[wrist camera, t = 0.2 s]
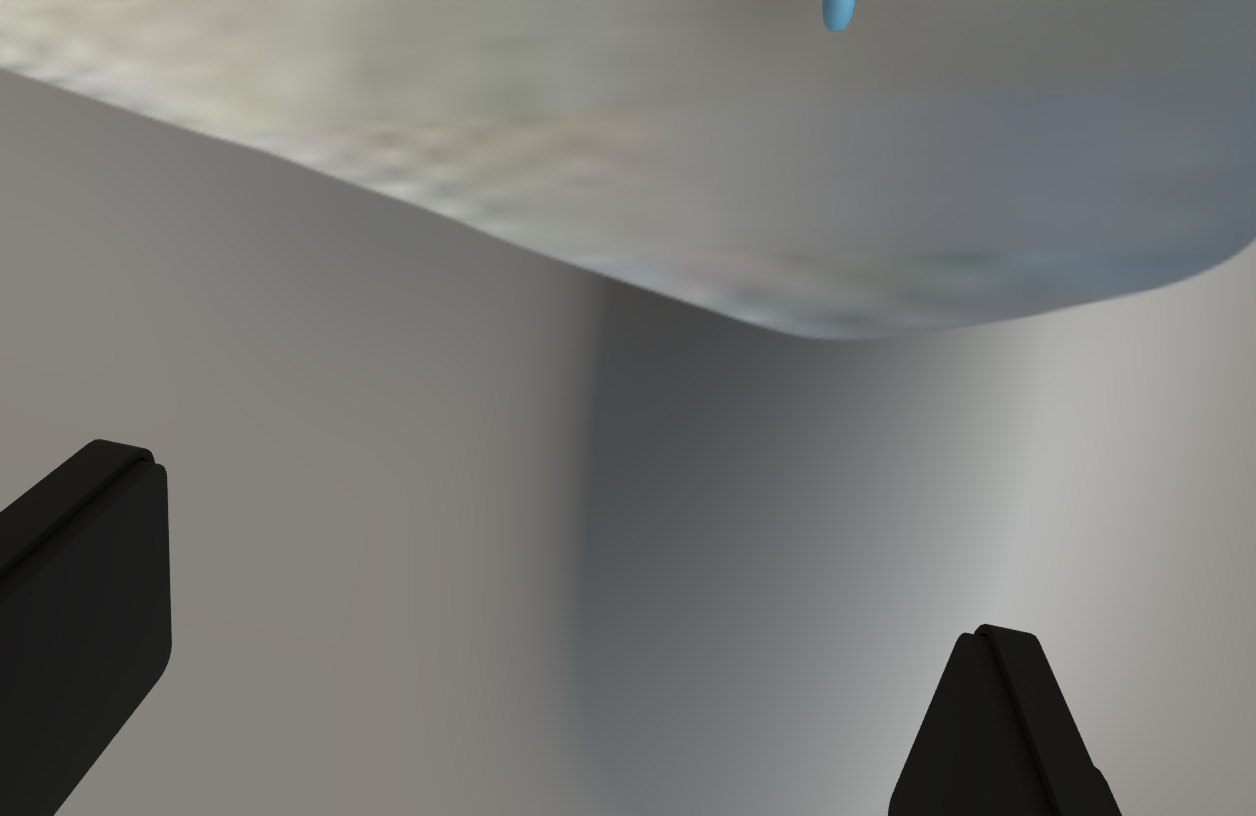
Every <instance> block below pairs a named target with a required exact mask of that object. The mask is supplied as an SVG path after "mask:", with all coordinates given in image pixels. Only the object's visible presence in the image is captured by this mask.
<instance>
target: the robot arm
mask: <svg viewBox="0 0 1256 816" xmlns="http://www.w3.org/2000/svg"><path fill="white" fill-rule="evenodd" d="M168 527H169V526H168V490H167V473H166V470H165V468H164V467H163V466H162V465H160V464H156V463H155V461H154V457H153V455H152V453H151V452H150V451H149V450H148V449H145V448H140V447H135V446H131V445H126V444H120V443H116V442H111V441H107V440H102V439H98V440H94V441H92V442H90V443H88V444H87V445H86V446H84V447H83V448H82V449H81V450H79V451H78V452H77V453H75V454H74V455H73V456H72V457H70V458H69V459H68V460H67V461H65V462H64V463H63V464H61V465H60V466H59V467H58V468H56V469H55V470H54V471H52V472H51V473H50V474H49V475H47V476H46V477H45V478H44V479H42V480H41V481H40V482H39V483H37V484H36V485H35V486H33V487H32V488H31V489H30V490H28V491H27V492H26V493H24V494H23V495H22V496H21V497H19V498H18V499H17V500H16V501H14V502H13V503H12V504H10V505H9V506H8V507H7V508H5V509H4V510H3V511H1V512H0V816H54V814H55V813H56V812H57V810H58V809H59V808H60V807H61V805H62V804H63V803H64V801H65V800H66V798H67V797H68V796H69V795H70V794H71V792H72V791H73V790H74V788H75V787H76V786H77V785H78V783H79V782H80V781H81V779H82V778H83V777H84V775H85V774H86V773H87V772H88V770H89V769H90V768H91V766H92V765H93V764H94V763H95V761H96V760H97V759H98V757H99V756H100V755H101V754H102V752H103V751H104V750H105V748H106V747H107V746H108V744H109V743H110V742H111V740H112V739H113V738H114V736H115V735H116V734H117V733H118V732H119V730H120V729H121V728H122V726H123V725H124V724H125V723H126V721H127V720H128V719H129V717H130V716H131V715H132V714H133V712H134V711H135V710H136V708H137V707H138V706H139V704H140V703H141V702H142V701H143V699H144V698H145V697H146V695H147V694H148V693H149V692H150V690H151V689H152V688H153V686H154V685H155V684H156V683H157V681H158V680H159V679H160V677H161V676H162V674H163V672H164V670H165V668H166V666H167V664H168V661H169V658H170V653H171V647H172V646H171V645H172V634H171V599H170V563H169V529H168ZM888 816H1122V815H1121V812H1120V810H1119V808H1118V806H1117V804H1116V801H1115V799H1114V797H1113V794H1112V793H1111V790H1110V788H1109V785H1108V783H1107V781H1106V780H1105V778H1104V777H1103V775H1102V773H1101V772H1100V770H1098V769H1097V768H1096V767H1094V765H1093V763H1092V761H1091V758H1090V756H1089V754H1088V752H1087V749H1086V747H1085V745H1084V742H1083V740H1082V738H1081V736H1080V733H1079V731H1078V729H1077V726H1076V724H1075V722H1074V720H1073V717H1072V715H1071V713H1070V711H1069V708H1068V706H1067V704H1066V702H1065V699H1064V697H1063V695H1062V692H1061V690H1060V688H1059V686H1058V683H1057V681H1056V679H1055V676H1054V674H1053V672H1052V670H1051V667H1050V665H1049V663H1048V661H1047V658H1046V656H1045V654H1044V652H1043V649H1042V647H1041V645H1040V642H1039V641H1038V639H1037V637H1036V636H1035V635H1033V634H1031V633H1027V632H1022V631H1017V630H1012V629H1007V628H1003V627H998V626H993V625H989V624H983V625H980V626H979V627H978V629H977V630H976V631H975V633H974V634H970V633H963V634H961V635H960V636H959V638H958V640H957V641H956V643H955V646H954V648H953V651H952V653H951V655H950V658H949V660H948V663H947V665H946V667H945V670H944V672H943V674H942V677H941V679H940V682H939V684H938V687H937V689H936V691H935V694H934V696H933V698H932V701H931V703H930V705H929V708H928V710H927V713H926V715H925V717H924V720H923V722H922V725H921V727H920V730H919V732H918V734H917V736H916V739H915V741H914V744H913V746H912V748H911V751H910V753H909V756H908V758H907V760H906V763H905V765H904V768H903V770H902V772H901V775H900V777H899V779H898V782H897V784H896V787H895V789H894V792H893V794H892V797H891V800H890V804H889V810H888Z"/></svg>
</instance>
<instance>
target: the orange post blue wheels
mask: <svg viewBox="0 0 1256 816" xmlns="http://www.w3.org/2000/svg"><path fill="white" fill-rule="evenodd" d="M854 4H855V0H823V20H824V24H825V26H826V27H827V28H828V29H829V30H831V31H834V32H838V31H841V30H843V29H844V28H845V27H846V26H847V25H848V23H849V21H850V19H851V16H852V13H853V9H854Z"/></svg>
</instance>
